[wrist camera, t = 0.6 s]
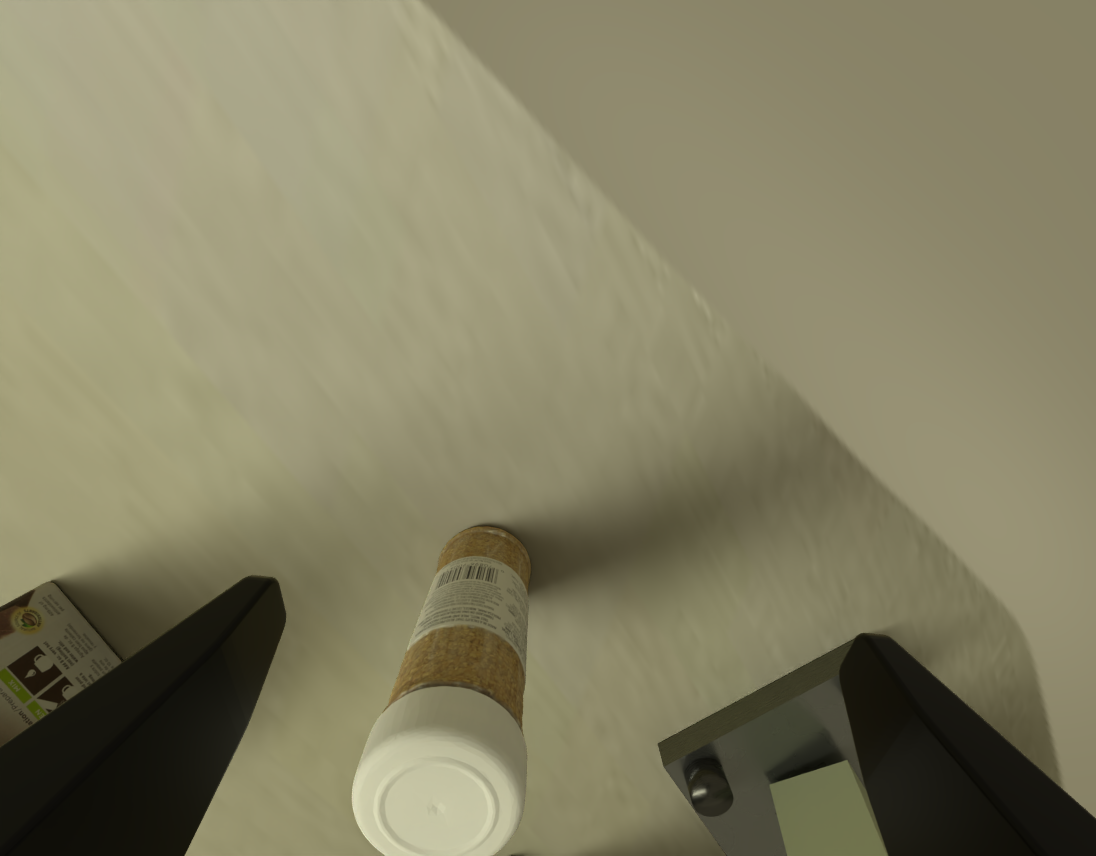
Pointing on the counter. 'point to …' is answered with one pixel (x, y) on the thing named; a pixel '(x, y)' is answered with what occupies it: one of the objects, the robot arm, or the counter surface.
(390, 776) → the sprinkles bottle
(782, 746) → the plate
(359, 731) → the counter surface
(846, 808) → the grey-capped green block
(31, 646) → the coffee box
